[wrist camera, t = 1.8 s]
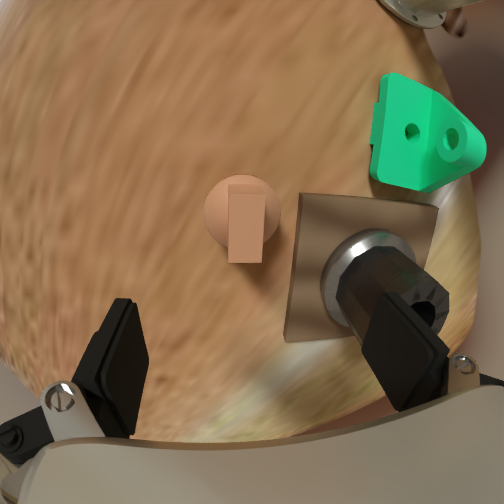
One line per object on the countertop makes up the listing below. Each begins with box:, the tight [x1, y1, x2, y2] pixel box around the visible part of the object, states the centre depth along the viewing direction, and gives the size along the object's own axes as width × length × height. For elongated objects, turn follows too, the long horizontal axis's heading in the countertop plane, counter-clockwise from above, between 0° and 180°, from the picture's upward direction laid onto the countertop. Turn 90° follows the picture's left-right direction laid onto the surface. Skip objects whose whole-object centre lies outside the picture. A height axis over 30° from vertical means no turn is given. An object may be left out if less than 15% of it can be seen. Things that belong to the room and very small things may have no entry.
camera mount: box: [370, 73, 487, 193], centre depth 21 cm, size 12×8×10 cm, turn 174°
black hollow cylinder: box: [320, 228, 449, 346], centre depth 26 cm, size 12×12×10 cm
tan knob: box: [203, 174, 281, 263], centre depth 23 cm, size 6×6×9 cm
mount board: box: [283, 193, 439, 342], centre depth 31 cm, size 18×18×2 cm
